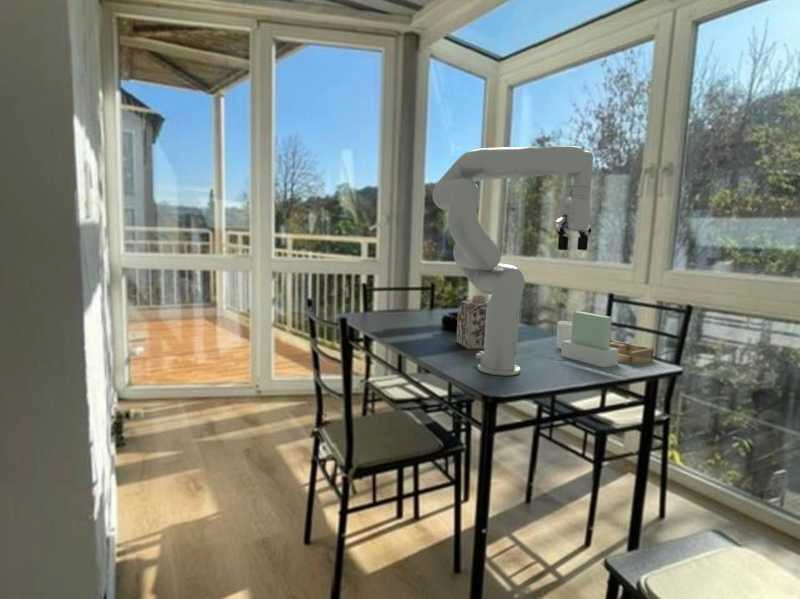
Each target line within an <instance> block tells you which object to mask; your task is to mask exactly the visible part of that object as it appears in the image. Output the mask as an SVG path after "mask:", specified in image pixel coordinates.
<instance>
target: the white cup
mask: <svg viewBox="0 0 800 599" xmlns="http://www.w3.org/2000/svg"><path fill="white" fill-rule="evenodd" d="M572 322H573V320H558V321H557V324H556V342H557V343H556V347H557V348H558V349H561V350H562V341H566V340H571V334H572Z"/></svg>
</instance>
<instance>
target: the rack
mask: <svg viewBox="0 0 800 599" xmlns="http://www.w3.org/2000/svg"><path fill="white" fill-rule="evenodd" d="M610 342H615V343H620V344H624V345H626V351H627V355H623V354H618V362H617V363H620V364H624V365H628V366H635V365H641V364H645V363H650V362H653V360H654V351H655V350H654V348H651V347H647V346H646V347H645V346H641V345H638V344H633V343H628V342H623V341H619V340H614V339H610ZM610 342H609V343H610Z"/></svg>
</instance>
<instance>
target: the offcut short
mask: <svg viewBox="0 0 800 599" xmlns="http://www.w3.org/2000/svg"><path fill="white" fill-rule="evenodd" d="M609 347H612V348H617V349H619V352H623V351H626V345H624V344H620V343H615V342H610V343H609Z"/></svg>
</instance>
